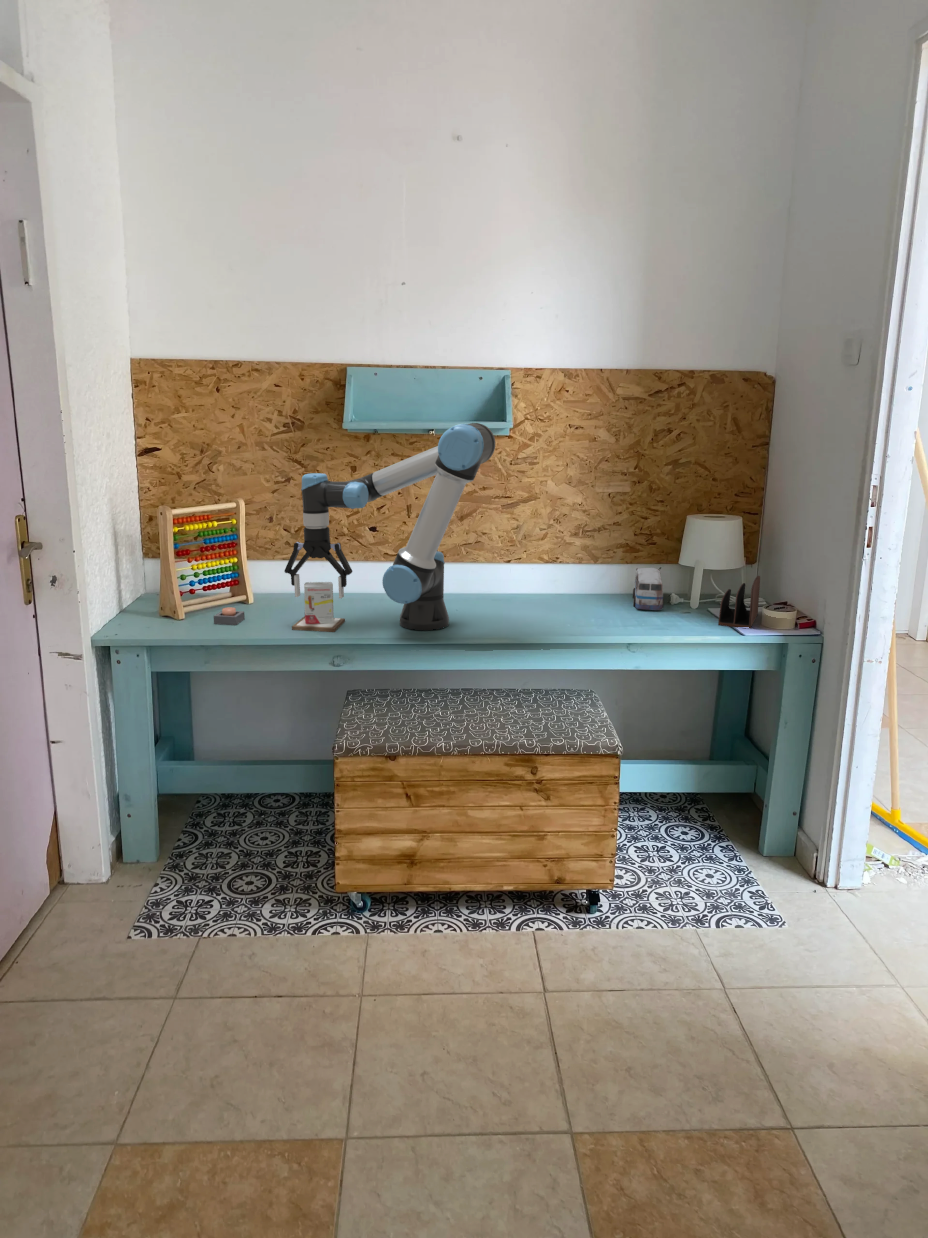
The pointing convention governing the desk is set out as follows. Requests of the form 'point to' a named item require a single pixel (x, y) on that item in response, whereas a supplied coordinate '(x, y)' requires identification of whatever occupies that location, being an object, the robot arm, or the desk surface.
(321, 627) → the board
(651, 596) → the toy bus
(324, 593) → the ink box
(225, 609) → the button
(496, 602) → the desk surface
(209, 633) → the desk surface
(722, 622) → the letter holder
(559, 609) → the desk surface
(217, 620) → the button base
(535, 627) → the desk surface
